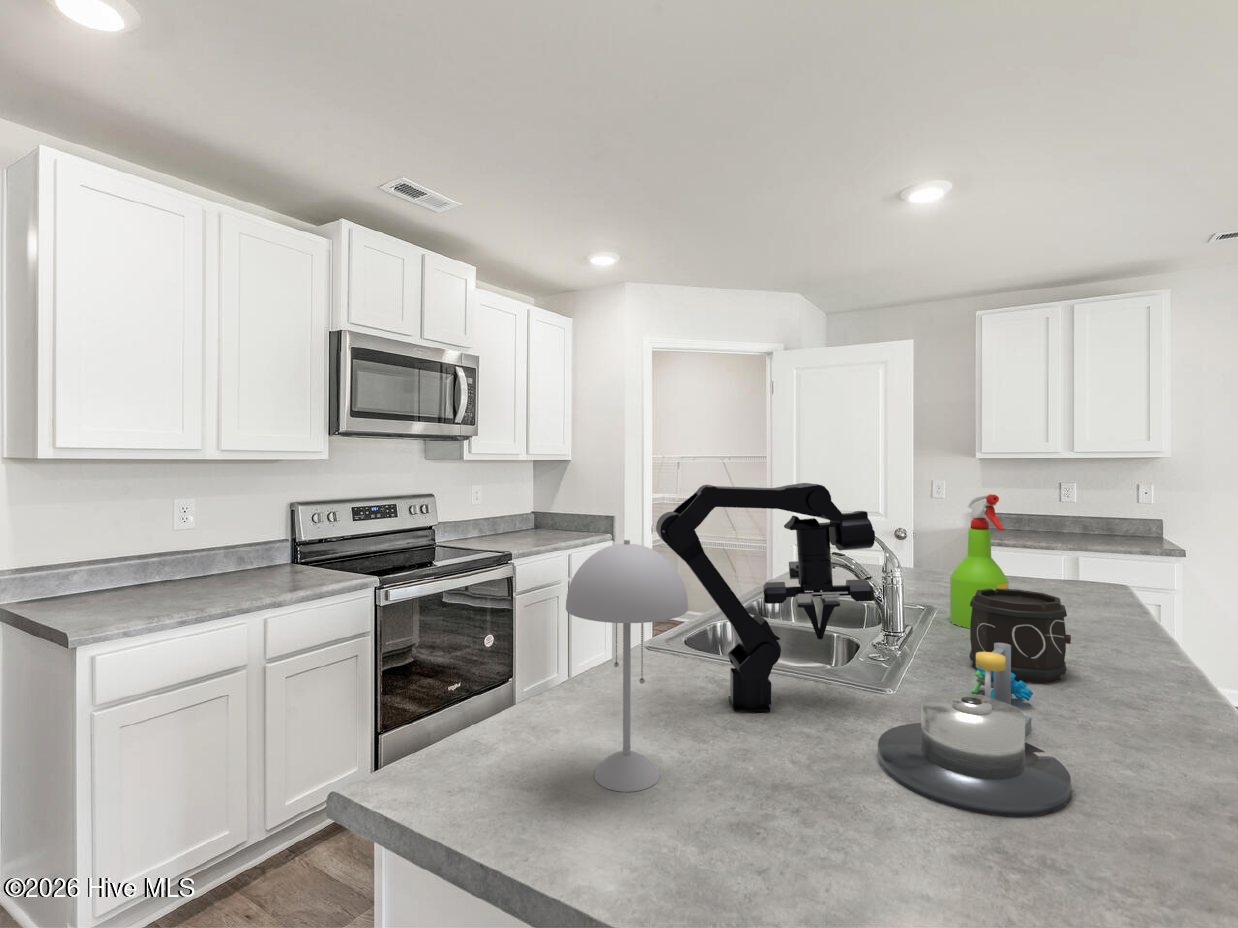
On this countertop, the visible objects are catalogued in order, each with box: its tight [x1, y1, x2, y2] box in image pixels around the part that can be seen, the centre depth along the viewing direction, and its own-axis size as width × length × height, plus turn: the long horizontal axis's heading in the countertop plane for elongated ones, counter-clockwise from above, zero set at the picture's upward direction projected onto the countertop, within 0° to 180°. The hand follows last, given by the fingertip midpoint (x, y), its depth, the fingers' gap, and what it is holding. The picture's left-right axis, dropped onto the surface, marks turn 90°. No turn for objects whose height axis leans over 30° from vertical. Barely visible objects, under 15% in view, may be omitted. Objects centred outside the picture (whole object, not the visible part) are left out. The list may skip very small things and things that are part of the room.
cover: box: [920, 691, 1026, 780], centre depth 94 cm, size 13×13×8 cm
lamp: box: [565, 539, 689, 793], centre depth 92 cm, size 17×17×33 cm
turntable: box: [877, 722, 1072, 818], centre depth 94 cm, size 24×24×2 cm
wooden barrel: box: [969, 588, 1072, 685], centre depth 138 cm, size 18×18×16 cm
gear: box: [971, 666, 1033, 702], centre depth 121 cm, size 11×6×10 cm
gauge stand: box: [976, 643, 1032, 738], centre depth 106 cm, size 13×7×14 cm, turn 137°
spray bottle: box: [949, 493, 1009, 628], centre depth 174 cm, size 14×18×35 cm
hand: (819, 638), depth 119 cm, fingers closed
